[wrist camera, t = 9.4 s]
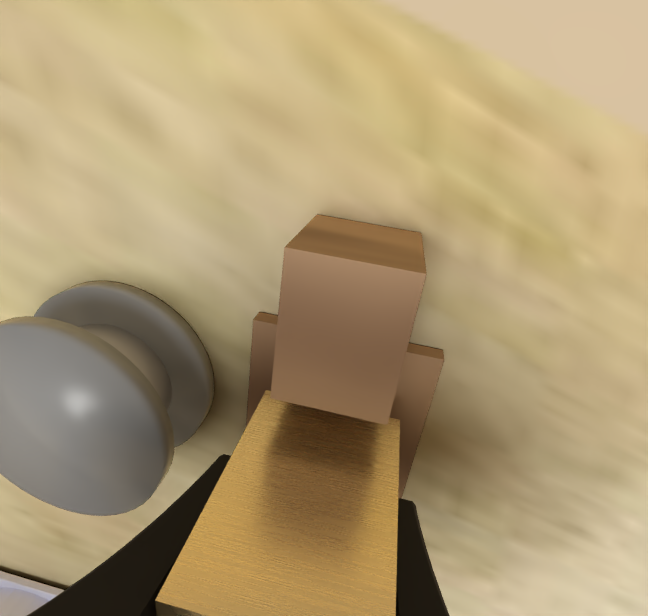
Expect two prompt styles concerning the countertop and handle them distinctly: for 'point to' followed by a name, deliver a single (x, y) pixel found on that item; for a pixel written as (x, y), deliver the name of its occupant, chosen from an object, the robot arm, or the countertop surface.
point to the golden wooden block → (296, 522)
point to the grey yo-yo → (98, 397)
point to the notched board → (349, 330)
